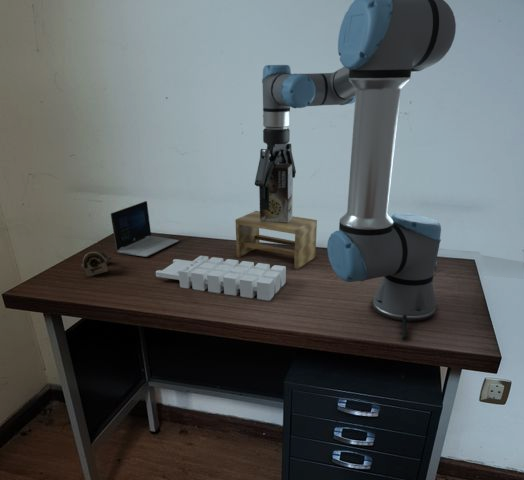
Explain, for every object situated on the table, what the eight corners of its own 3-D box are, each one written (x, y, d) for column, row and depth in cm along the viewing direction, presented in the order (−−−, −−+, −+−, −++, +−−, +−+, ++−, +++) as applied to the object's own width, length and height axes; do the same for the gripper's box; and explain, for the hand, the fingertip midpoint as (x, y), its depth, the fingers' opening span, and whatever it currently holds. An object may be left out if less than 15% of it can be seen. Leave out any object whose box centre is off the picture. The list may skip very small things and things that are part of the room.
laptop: (146, 258, 159) (141, 217, 152) (116, 252, 164) (109, 213, 157) (179, 242, 173) (175, 204, 166) (150, 237, 178) (146, 200, 171)
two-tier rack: (297, 269, 150) (298, 230, 144) (236, 256, 160) (235, 219, 154) (315, 257, 158) (317, 220, 152) (256, 246, 169) (255, 210, 163)
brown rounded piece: (67, 259, 143) (96, 254, 140) (89, 241, 153) (117, 236, 150) (78, 281, 147) (106, 277, 144) (99, 262, 157) (126, 258, 154)
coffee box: (292, 217, 155) (293, 163, 146) (288, 223, 149) (288, 167, 141) (264, 216, 157) (264, 162, 149) (258, 221, 151) (258, 166, 143)
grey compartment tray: (269, 283, 128) (152, 267, 139) (269, 300, 130) (154, 283, 141) (285, 266, 138) (175, 252, 150) (285, 282, 141) (177, 267, 152)
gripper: (286, 122, 151) (285, 194, 161) (240, 132, 133) (243, 212, 143) (308, 124, 147) (305, 197, 158) (264, 133, 129) (265, 215, 140)
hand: (276, 204), depth 151 cm, fingers open, 13 cm apart
